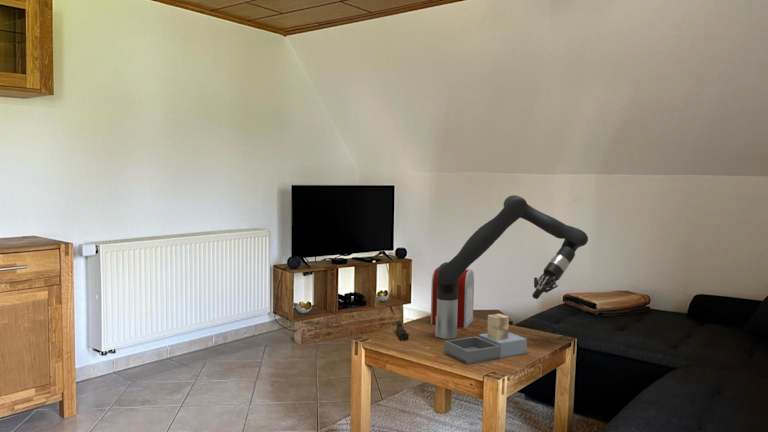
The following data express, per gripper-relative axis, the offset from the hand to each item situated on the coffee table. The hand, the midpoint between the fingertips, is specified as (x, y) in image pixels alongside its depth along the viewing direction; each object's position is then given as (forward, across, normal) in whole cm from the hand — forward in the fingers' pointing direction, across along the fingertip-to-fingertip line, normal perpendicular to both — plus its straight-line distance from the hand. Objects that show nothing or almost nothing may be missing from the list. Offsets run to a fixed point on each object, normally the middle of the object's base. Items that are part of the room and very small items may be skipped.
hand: (534, 297), depth 257 cm
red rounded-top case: (+21, -48, +9) cm, 53 cm away
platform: (+27, 0, +3) cm, 27 cm away
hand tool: (+46, -39, -16) cm, 62 cm away
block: (+24, 0, -3) cm, 25 cm away
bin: (+38, 0, -8) cm, 39 cm away
